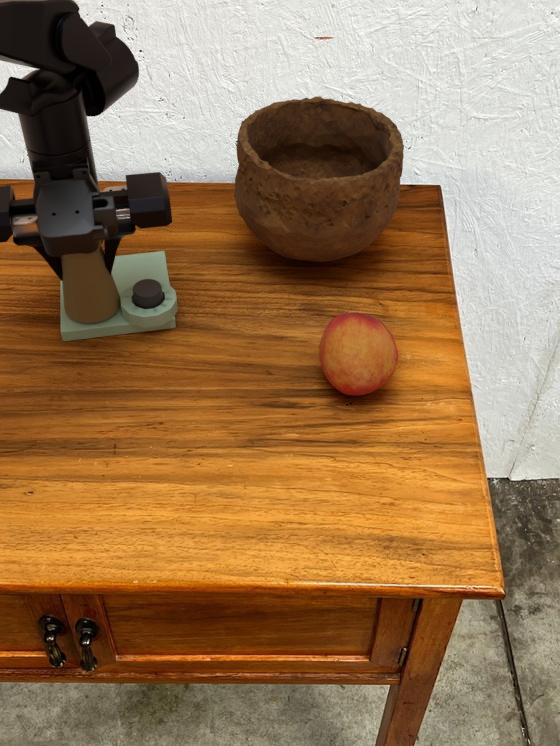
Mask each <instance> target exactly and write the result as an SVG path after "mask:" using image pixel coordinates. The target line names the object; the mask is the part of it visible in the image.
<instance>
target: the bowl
mask: <svg viewBox="0 0 560 746" xmlns="http://www.w3.org/2000/svg"><path fill="white" fill-rule="evenodd" d="M404 149H405V144H404V140H403V136H402V132H400V130H399V128H398V126H397V124H396V123H395V122H394V121H393V120H391V118H390V117H389V116H387V115H385V114H384V113H383V112H381V111H377V110H376V109H375V108H373V107H367V106H365V105H363V104H362V103H359V102H358V103H355V102H353V101H349V102H345V101H340V100H335V99H334V98H333V99H332V98H323V97H322V96H320V95H319V96H314V97H311V98H310V97H309V98H308V97H305V98H304V97H303V98H302V99H298V98H297V99H295V98H293V99H291V100H290V99H286V100H284V101H281V100H280V101H274V102H272V103H270V104H269V105H267V106H264V107H262V108H260V109H256V110H255V111H254V112H252V113H251V114H249V115H248V116H247V117H246V118H244V120H241V123H240V127H239V129H238V133H237V141H236V158H237V163H238V167H237V169H236V174H235V177H234V194H233V195H234V200H235V205H236V209H237V213H238V215H239V216H240V217H241V219H242V220H243V222H244V223H245V224H246V226H247V228H248V229H249V231H250V232H251V233H252V234H253V235H254V236H255V238H256V239H258V241H260V242H262V243H263V244H264V245H265V246H266V247H267V248H268V249H270V250H271V251H273V252H275V253H276V254H278V255H280V256H282V257H284V258H286V259H290V260H299V261H306V262H307V261H308V262H316V263H326V262H332V261H338V260H340V259H341V260H342V259H344V258H346V257H350V256H353V255H356V254H357V253H360V252H362V251H363V250H365V249H366V248H368V247H369V246H370V245H371V244H373V243H374V241H376V239H378V238H379V237H380V235H381V234H382V233H383V232H384V230H385V229H386V228H387V227H388V226H389V225H390V223H391V221H392V220H393V218H394V216H395V213H396V211H397V208H398V205H399V200H400V197H401V178H402V177H403V176H402V175H403V169H404V168H403V167H404Z"/></svg>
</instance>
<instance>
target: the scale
mask: <svg viewBox="0 0 560 746" xmlns="http://www.w3.org/2000/svg"><path fill="white" fill-rule="evenodd" d="M112 276H113V279H114V282H115V284H116V287H117V290H118V292H119V295H120V301H121V305H120V307H119V309H118V311H117V312H116V313H115V314H114V315H113V316H111V317H109V318H107V319H105V320H102V321H99V322H93V323H84V322H78V321H76V320H73V319H71V318H70V317H69V316H68V315H67V314H66V312H65V309H64V297H63V285H62V281H61V280H60V279H59V282H60V283H59V284H60V285H59V287H60V289H59V293H60V294H59V295H60V300H59V302H60V306H59V308H60V310H59V311H60V315H59V318H60V319H59V320H60V323H59V324H60V329H59V330H60V335H61V339H62V342H70V341H79V340H85V339H95V338H103V337H110V336H111V337H112V336H119V335H128V334H135V333H137V334H138V333H143V332H151V331H160V330H161V331H163V330H169V329H170V330H171V329H176V328H177V325H176V323H177V322H176V315H177V313H178V311H179V305H178V298H177V292H176V289H175V288H173V286H172V285H171V283H170V277H169V271H168V264H167V258H166V251H165V250H161V251H160V250H159V251H150V252H141V253H132V254H122V255H116V256H115V260H114V264H113V269H112ZM143 279H153V280H156V281H158V282H159V283H160V284H161V288H162V296H163V301H162V303H161V304H160V305H159V306H157V307H156V308H152V309H142V308H139V307H138V306H137V305H136V304H135V301H134V295H133V286H134V285H135V283H137V282H138V281H140V280H143Z"/></svg>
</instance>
